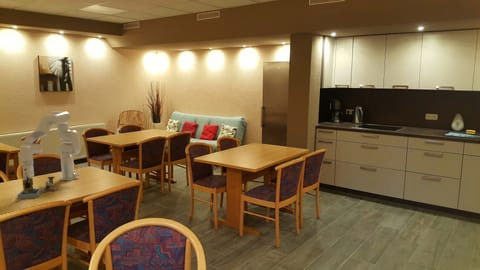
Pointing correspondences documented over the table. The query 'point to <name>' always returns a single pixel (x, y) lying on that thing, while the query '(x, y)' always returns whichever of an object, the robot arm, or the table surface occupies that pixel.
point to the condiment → (28, 188)
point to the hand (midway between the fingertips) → (29, 186)
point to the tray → (29, 194)
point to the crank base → (49, 189)
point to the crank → (49, 182)
